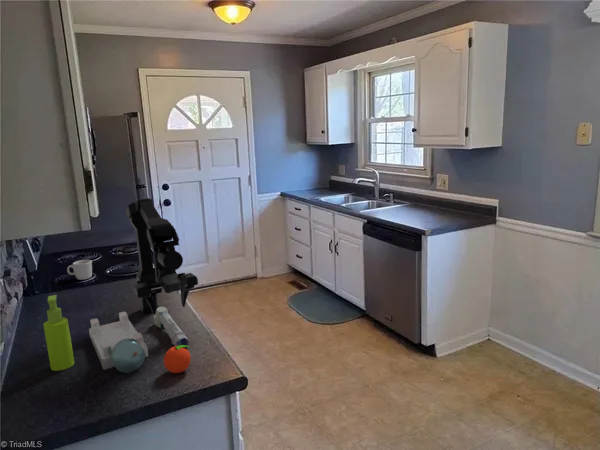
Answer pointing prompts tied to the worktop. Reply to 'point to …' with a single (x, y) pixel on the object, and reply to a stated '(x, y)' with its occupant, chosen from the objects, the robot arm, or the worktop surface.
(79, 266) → the cup
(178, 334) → the electric toothbrush handle
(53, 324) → the soap dispenser
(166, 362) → the clementine
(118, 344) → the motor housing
